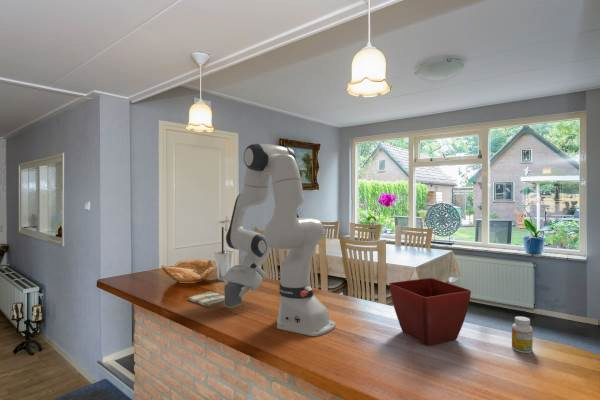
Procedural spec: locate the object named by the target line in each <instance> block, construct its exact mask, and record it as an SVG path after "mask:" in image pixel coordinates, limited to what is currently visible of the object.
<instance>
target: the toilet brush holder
mask: <svg viewBox="0 0 600 400" xmlns="http://www.w3.org/2000/svg"><path fill="white" fill-rule="evenodd" d="M224 239H225V238H224V226H222V227H221V250H217V251H214V255H215V264H216V274H217V280H218V281H222V282H225V281H224V280H223V277H224V275H225V274H226V273H227V272H228V270H229V269H230V268H231V266H232V256H233V253H234V252H233V250H224Z"/></svg>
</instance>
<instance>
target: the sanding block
mask: <svg viewBox="0 0 600 400" xmlns="http://www.w3.org/2000/svg"><path fill="white" fill-rule="evenodd" d="M223 290H225V292H224V296H225V303H224V307H225V308H228V309H233V308H236V307H240V306H241V305H242V303H243V301H242V298H243V296H242V297H239V296H238V295H237V294H238V292H239V291H242V290H243V288H242V287H241V285H240V284H236V283H232V284H228V285H226V284H224V289H223Z"/></svg>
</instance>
